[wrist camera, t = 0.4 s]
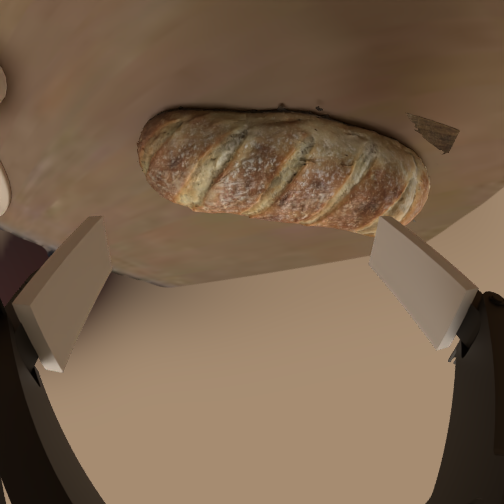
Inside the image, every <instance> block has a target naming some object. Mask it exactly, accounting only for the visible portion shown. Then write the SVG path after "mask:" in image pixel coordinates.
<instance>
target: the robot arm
mask: <svg viewBox="0 0 504 504" xmlns="http://www.w3.org/2000/svg"><path fill="white" fill-rule="evenodd" d="M369 266H370V267H371V268H372V269H373V270H374V271H375V273H377V275H378V276H379V277H380V279H381V280H382V281H383V282H384V283H385V285H386V286H387V287H388V288H389V289H390V291H391V292H392V293H393V294H394V296H395V297H396V298H397V299H398V301H399V302H400V303H401V304H402V305H403V307H404V308H405V309H406V311H407V312H408V313H409V314H410V316H411V317H412V318H413V320H414V321H415V322H416V324H417V325H418V326H419V327H420V329H421V330H422V331H423V333H424V334H425V335H426V337H427V338H428V340H429V341H430V342H431V344H432V345H433V346H434V348H435V349H436V350H440V349H443V348H447V347H449V346H450V345H451V343H452V341H453V339H454V337H455V336H456V335H457V336H458V337H459V338H460V341H459V343H458V344H457V346H456V348H455V350H454V351H453V353H452V354H451V356H450V358H449V360H448V362H451V360H452V359H453V358H454V357H456V360H455V361H454V364H456V366H455V380H454V392H453V401H452V408H451V415H450V422H449V428H448V433H447V439H446V444H445V449H444V453H443V458H442V462H441V466H440V470H439V473H438V477H437V480H436V484H435V487H434V490H433V493H432V496H431V498H430V499H429V500H428V501H427V503H426V504H504V298H502V297H501V296H500V295H498V294H496V293H494V292H490V291H488V292H485V293H484V294H482V293H481V292H480V291H479V290H478V287H477V286H476V285H474V284H473V283H472V282H471V281H470V280H469V279H468V278H467V277H466V276H465V275H463V274H462V273H461V272H460V271H459V270H458V269H457V268H456V267H454V266H453V265H452V264H451V263H450V262H449V261H447V260H446V259H445V258H444V257H443V256H442V255H440V254H439V253H438V252H437V251H435V250H434V249H433V248H432V247H431V246H429V245H428V244H427V243H426V242H424V241H423V240H422V239H421V238H419V237H418V236H417V235H415V234H414V233H413V232H412V231H410V230H409V229H408V228H406V227H405V226H404V225H402V224H401V223H400V222H398V221H397V220H396V219H394V218H393V217H392V216H379V221H378V225H377V230H376V235H375V239H374V243H373V248H372V252H371V256H370V260H369ZM111 271H112V264H111V259H110V254H109V248H108V243H107V237H106V231H105V225H104V218H103V216H92V217H88V218H87V219H86V220H85V221H84V222H83V223H82V224H81V225H80V226H79V227H78V228H77V229H76V230H75V231H74V232H73V233H72V234H71V235H70V236H69V237H68V238H67V239H66V240H65V241H64V242H63V243H62V245H61V246H60V247H59V248H58V249H57V250H56V251H55V252H54V253H53V254H52V255H51V257H50V258H49V259H48V260H47V261H46V262H45V263H44V265H43V266H42V267H41V268H39V269H38V270H36V271H35V272H34V273H32V274H31V275H30V276H29V277H28V279H27V280H26V281H25V284H23V285H22V286H21V287H20V288H19V290H18V291H17V292H16V293H15V294H14V296H13V297H12V299H11V300H10V301H9V302H8V303H7V305H6V306H5V307H4V306H3V304H2V301H1V299H0V504H6V501H5V497H4V492H3V486H2V481H3V484H4V486H5V489H6V491H7V494H8V497H9V499H10V501H11V504H105V502H104V501H103V499H102V498H101V497H100V495H99V493H98V492H97V491H96V489H95V487H94V486H93V484H92V483H91V481H90V480H89V478H88V477H87V475H86V473H85V472H84V470H83V468H82V467H81V465H80V463H79V462H78V460H77V458H76V456H75V454H74V453H73V451H72V449H71V447H70V445H69V443H68V441H67V439H66V437H65V435H64V433H63V431H62V429H61V427H60V424H59V422H58V420H57V418H56V416H55V413H54V411H53V409H52V406H51V404H50V401H49V399H48V396H47V394H46V391H45V389H44V386H43V383H42V381H41V378H40V375H39V372H38V370H37V369H36V367H35V366H34V365H35V363H36V361H37V359H38V357H39V359H40V361H41V363H42V364H43V366H44V368H45V369H47V370H51V371H57V372H63V371H64V369H65V366H66V364H67V362H68V359H69V357H70V354H71V352H72V350H73V347H74V345H75V343H76V341H77V339H78V336H79V334H80V332H81V330H82V328H83V325H84V323H85V321H86V319H87V317H88V315H89V313H90V311H91V309H92V307H93V305H94V303H95V301H96V299H97V297H98V295H99V293H100V291H101V289H102V287H103V285H104V284H105V282H106V280H107V278H108V276H109V274H110V272H111ZM1 478H2V481H1Z"/></svg>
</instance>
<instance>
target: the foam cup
mask: <svg viewBox="0 0 504 504" xmlns="http://www.w3.org/2000/svg"><path fill="white" fill-rule="evenodd" d="M6 90H7V83H6V76H5V74H4V72H3V70H2V68H1V67H0V103H1V102H2V100H3V99H4V97H5V96H6Z"/></svg>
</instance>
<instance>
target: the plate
mask: <svg viewBox="0 0 504 504" xmlns="http://www.w3.org/2000/svg"><path fill="white" fill-rule="evenodd" d="M10 201H11V188H10V183H9V180H8V177H7V174H6V172H5V169H4V167H3V165H2V163H1V161H0V216H1V215H2V214H4V212H5V211H6V210H7V208H8V206H9V204H10Z"/></svg>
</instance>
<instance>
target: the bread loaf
mask: <svg viewBox="0 0 504 504" xmlns="http://www.w3.org/2000/svg"><path fill="white" fill-rule="evenodd" d="M180 108H183V107H179V109H178V110H169V111H166V112H161V113H160V114H157V116H156V117H154V118H153V119H149V121H148V122H147V123H146V124H145V126H144V129H143V131H142V132H141V136H140V138H139V141H138V142H139V143H137V146H138V149H137V152H138V156H139V163H140V166H141V168H142V169H143V170H142V171H143V172H144V173H145V176H146V178H147V181H148V182H149V184H150V185H151V187H153V188H154V189H155V190H156V191H157V192H158V193H159V195H160V196H161V195H162V196H161V197H164V198H166V199H168V200H170V201H172V202H174V203H178V204H180V205H184V206H188V207H189V208H190V209H192V210H193V211H194V212H206V213H234V214H239V215H243V216H245V215H246V216H249V218H257V219H262V220H268V221H278V222H286V223H299V224H302V225H305V226H322V227H326V228H329V227H333V228H336V229H344V230H348V231H351V232H354V233H360V234H363V235H366V236H372V237H373V236H375V235H376V230H377V225H378V221H379V216H392V217H393V218H394V219H396V220H397V221H398V222H400V223H401V224H402V225H404V226H405V225H407V224H408V223H409V222H410V221H411V220H413V218H414V217H415V216H417V214H418V213H419V212H420V211H421V210H422V208H423V206H424V204H425V202H426V200H427V198H428V193H429V189H430V185H429V183H430V177H429V176H428V174H427V171H426V170H427V169H426V170H425V168H426V166H425V167H424V164H423V163H422V159H421V158H418V156H417V154H416V153H415V152H414V151H412V150H411V149H410V148H406V147H405V146H404V145H402V144H400V143H399V142H398V140H395V139H392V138H388V137H386V136H382V135H379V133H377V132H376V131H371V130H365V129H364V128H360V127H357V126H356V127H355V126H352V125H349V124H345V123H344V122H340V121H337V120H332V119H331V118H330V117H329V115H324V116H321V117H320V116H318V115H315V114H313V113H312V112H311V111H309V112H305V111H298V112H294V111H289V110H286V109H285V108H284V107H283V106H279V107H278V108H277V110H276V111H256V110H252V111H242V112H240V111H231V110H225V109H214V110H200V109H180ZM316 109H317V110H318V111H321V110H323V109H321V108H319V106H318V107H316ZM283 110H284V111H283ZM406 114H407V115H408V117H409V118H410V120H411V121H412V122H413V123H415V124H416V125H415V127H416V128H418V130H415V131H417V132H419V133H420V134H422V136H423V137H424V138H425V139H426V140H427V141H428V142H430V143H431V144H433V145H434V146H435V147H437V148H438V149H439V150H442V151H444V153H443V154H445V153H449V151H450V149H451V147H452V145H453V143H454V141H455V139H456V137H457V135H458V133H459V132H460V131H459V130H456V129H454V128H451V127H449V126H446V125H443V124H440V123H437V122H434V121H431V120H428V119H425V118H422V117H418V116H415V115H412V114H408V113H406ZM299 119H300V120H301V121H300V120H299ZM314 129H316V130H317V131H316V130H314ZM231 136H232V138H231ZM239 137H240V140H239V139H238V138H239ZM302 151H303V153H302ZM375 152H376V154H375ZM344 154H345V155H344ZM443 154H442V155H443ZM346 155H348V156H346ZM341 161H342V163H341ZM137 162H138V161H137ZM303 164H306V165H303ZM293 174H296V175H295V176H294V175H293ZM420 213H421V212H420ZM414 222H415V221H414Z"/></svg>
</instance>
